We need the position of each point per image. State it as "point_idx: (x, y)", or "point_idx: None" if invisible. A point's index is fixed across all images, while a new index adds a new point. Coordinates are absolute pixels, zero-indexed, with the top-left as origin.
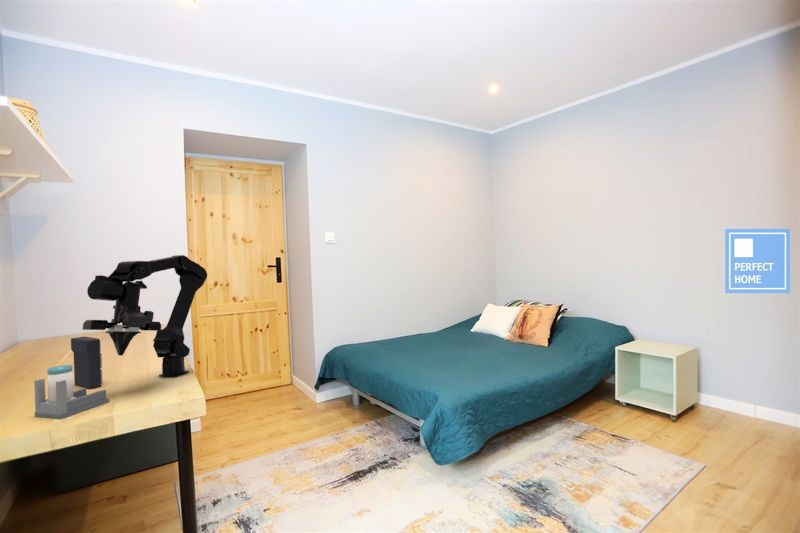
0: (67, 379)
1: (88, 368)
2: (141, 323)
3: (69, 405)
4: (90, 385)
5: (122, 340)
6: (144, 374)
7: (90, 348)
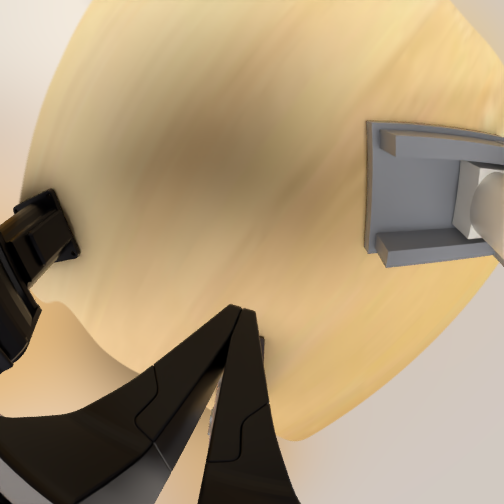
0: None
1: None
2: None
3: (500, 144)
4: (263, 345)
5: (222, 434)
6: (100, 320)
7: None
